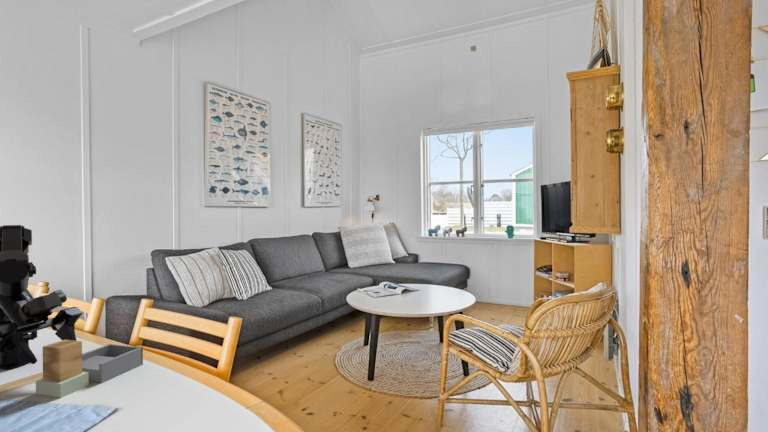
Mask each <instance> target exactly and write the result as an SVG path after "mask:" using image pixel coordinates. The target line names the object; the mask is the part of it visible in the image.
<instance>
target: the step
mask: <svg viewBox="0 0 768 432" xmlns="http://www.w3.org/2000/svg"><path fill="white" fill-rule="evenodd" d="M89 382H90V381H89V372H82V374H79V375H77V376H74V377H72V378H69V379H67V380H65V381H62V382H55V381H48V380H43V377H42V378H39V379H37V380H35V394H36V395H39V396H46V397H54V398H60V399H61V398H63V397H66V396H68V395H70V394H72V393H74V392H76V391H79V390H81V389H83V388H86V387H88V386H89V385H90V384H89Z"/></svg>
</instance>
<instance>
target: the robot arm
mask: <svg viewBox="0 0 768 432" xmlns="http://www.w3.org/2000/svg"><path fill="white" fill-rule="evenodd" d="M32 231H33V230H32V229H30V228H26V227H25V226H24V225H21V224H9V225H8V224H7V225H5V224H4V225H3V224H2V225H1V226H0V369H3V370H12V369H15V368H17V367H20V366H23V365H27V364H31V365H35V364H36V363H37V362H38V359H37V357H36V355H35V353H33V351H32V350H31V348H30V345H29V344H30V343H29V341H30V340H31V341H34V340H35V339H36V338H37V339H38V331H40V330H44V329H47V328H51V329H52V331H54V332H55V331H56V332H55V333H54V334H55V335H56V337H57V338H59V339H60V341H62V340H75V341H77V336H76V332H75V331H76V330H75V325H76V323H77V322H78V320H79V319H80V317H81V316H82V315H83V314H84V313H83V312H82V311H81V310H80V308H79V307H77V306H72V307H68V308H64V309H60V310H59V312H57V314H56V315H55V316H53V317H50V318H49V316H51V315H52V314H54V309H56V308H58V307H59V308H60V307H62V306H63V304H64V303H65V302H67V299H68V298H67V295H66V294H65V292H63V291H64V290H62V289H56V290H53V291H52V292H50V293H49V294H45V295H40V296H37V297H34V296H33V295H32V294H31V293H30V291H29V289H28V288H29V280H30V279H29V278H33V277H34V275H37V268H36V265H34V263H33V261H30V262H29V260H30V258H29V255H28V254H29V251H30V250H29V246H32V245H33V234H32Z"/></svg>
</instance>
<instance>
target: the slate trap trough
mask: <svg viewBox="0 0 768 432" xmlns="http://www.w3.org/2000/svg"><path fill="white" fill-rule="evenodd" d="M143 364H144V347H143V346H142V347H141V346H134V345H124V344H123V345H122V344H114V343H113V344H112V343H109V344H106V345H103V346H100V347H97V348H95V349H92V350H89V351H87V352H84V353H83V352H82V372H89V382H93V383H99V384H100V383H101V384H102V383H103V384H104V383H105V382H106V381H109V380H111V379H113V378H116V377H118V376H120V375H122V374H124V373H127V372H128V371H129V372H130V371H131V370H133V369H135V368H138V367H139V366H142V365H143Z"/></svg>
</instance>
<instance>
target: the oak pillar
mask: <svg viewBox="0 0 768 432" xmlns="http://www.w3.org/2000/svg"><path fill="white" fill-rule="evenodd" d="M82 354H83V341H82V340H76V341H75V340H59V341H56V342H53V343H49V344H47V345H43V346H42V378H43V380H48V381H55V382H62V381H65V380H67V379H69V378H72V377H74V376H77V375H79V374H82Z"/></svg>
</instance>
